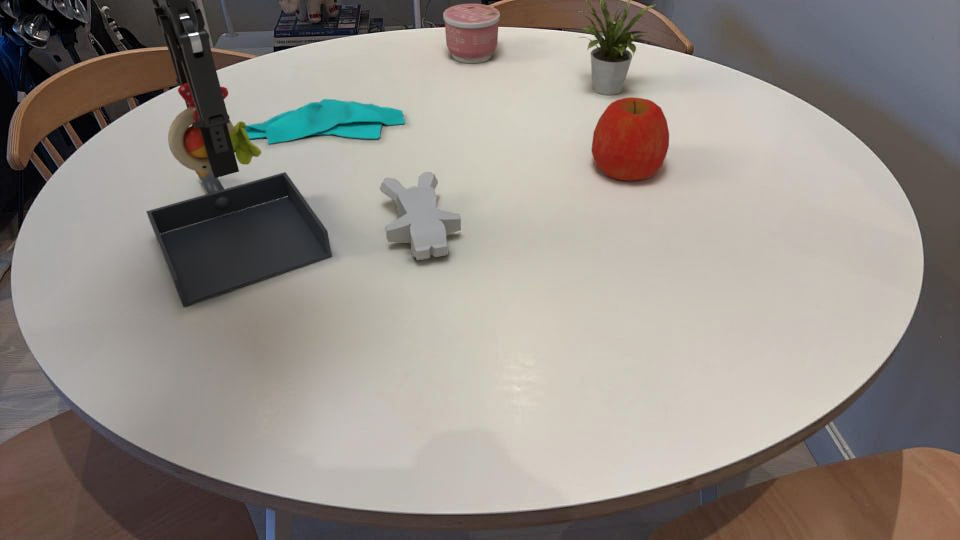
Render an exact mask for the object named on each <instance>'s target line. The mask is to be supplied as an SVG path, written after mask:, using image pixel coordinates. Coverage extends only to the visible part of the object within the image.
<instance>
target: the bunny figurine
mask: <svg viewBox="0 0 960 540" xmlns="http://www.w3.org/2000/svg"><path fill="white" fill-rule="evenodd" d="M438 184H439V181H438V178H437V176H436V174H435V173H434V172H432V171H424V172H422V173H420V175H419V176H418V179H417V185H416V186H411V187H408V188H405V187H404V186H403V184H402V183H401V182H400V180H398V179H396V178H395V177H385V178H383V180H382V182H381V184H380V187H379V191H380V192H381V193H382V194H383V195H385V196H387V197H388V198H390V199H391V200H392V201H394V202H395V203H396V204H395V205H396V210H397V216H398V218H397V219H395V220H393V221H392V222H390V223H388V224H386V225H385V235H386V240H387V242H388V243H396V244H397V243H398V244H399V243H400V244H410V250H411V251H410V252H411V256H412V257H413V258H415V259H416V261H420V260H427V259H430V258H431V256H433V257H434V258H438V257H443V256H448V255H449V253H448V252H449V251H448V249H449V247H448V242H447V236H449V235H452V234H454V233H456V232H457V233H458V232H460V231H461V230H462V217H461V213H458V212H453V211H447V210H444V209H440V208H438V207H437V205H438V204H437V194H436V193H437V192H436V189H437V186H438Z"/></svg>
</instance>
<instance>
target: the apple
mask: <svg viewBox="0 0 960 540" xmlns="http://www.w3.org/2000/svg"><path fill="white" fill-rule="evenodd" d="M669 146H670V131H669V126H668V121H667V118H666V116H665V114H664V111H663V109H662V107H660V106H659V105H658V104H657V103H655V102H654V101H653V100H651V99H647V98H641V97H631V96H630V97H623V98H619V99H616V100H614V101H612V102H611V103H610V104H609V105H608V106H607V107H606V108H605V110H604V111H603V113H602V114H601V115H600V117H599V118H598V120H597V123H596V126H595V128H594V130H593V135H592V143H591V154H592V158H593V161H594V163H595V164H596V166H597V168H598V169H599V170H600V171H601V172H603V173H604V174H605V175H606V176H607V177H609V178H612V179H615V180H618V181H627V182H628V181H629V182H634V181H641V180H646V179H648V178H651V177H653V176H654V175H655V174H656V173H658V171H659V170H660V168H661V167H662V166H663V164H664V162H665V159H666V158H667V153H668V151H669Z"/></svg>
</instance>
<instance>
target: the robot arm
mask: <svg viewBox="0 0 960 540" xmlns="http://www.w3.org/2000/svg"><path fill="white" fill-rule="evenodd" d="M151 3H152V5H154V7H152V10H153V15H154V17H155V20H156V22H157V24H158V26H159V27H160V30H161V34H162V38H163V40H164V42H165V45H166V47H167V51H168V54H169V58H170V61H171V64H172V68H173V72H174V75H175V82H176V84H177V85H178V86H179V87H180V86H182V85H183V84H185V83H188V85H189V88H190V91H191V94H192V97H193V101H194V104H195V107H196V110H197V113H198V116H199V121H196V122H193V124H192V125H194V127H195V129H197V128H200V131H201V134H202V138H203V141H204V145H205V148H206V152H207V155H208V159H209V162H210V166H211V169H212V172H213V176H214V177H215V178H218V179H219V178H221V177H225V176H228V175H232V174H235V173H240V169H239V165H238V160H237V157H236V153H234V149H233V146H232V142H231V138H230V134H229V130H228V126H227V123H230V121H231V118H230V115H229V114H228V111H227V106H226V102H225V99H224V98H223V95H222V91H221V87H222V86H221V83H220V80H219V76H218V72H217V69H216V63H215V61H214V57H213V53H212V48H211V43H210V34H209V32H208V31H207V29H205V26H206V23H205V19H204V16H203V12H202V10H201V9H200V8H197V6H196V3H195V1H194V0H151ZM184 103H185V106H186V109H187V108H189V104H188V103H186V101H185V100H184ZM192 125H191V126H192Z"/></svg>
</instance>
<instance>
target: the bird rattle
mask: <svg viewBox="0 0 960 540" xmlns="http://www.w3.org/2000/svg"><path fill="white" fill-rule="evenodd" d="M220 87H221V91H222V95H223V98H224V100H225V99H226V98H227V97H228V95H229V90H228V88H227V87H225V86H220ZM177 92H178V94H179V95H180V97H181V98H182V99H183V101H184V102H185V101H186V103H188V104H189V108H187V107H186V109H184V110H182V111H181V112H180V113H178V114H177V115H176V116H175V118H174V119H173V121H172V122H171V123H170V126H169V128H168V129H169V130H168V133H167V141H168V148H169V150H170V152H171V154H172V156H173V157H174V158H175V160H177V161H178V162H179V164H181V165H182V166H183V167H185V168H188V170H191V171H194V172H195V173H196V175H197V176H198V177H199V176H200V177H202V178H203V177H205V176H206V175H207V174H208V173H209V172H210V171H211V170H212V169H211V166H210V162H209V159H208V155H207V152H206V148H205V145H204V141H203V138H202V134H201V131H200V128H197V129H195V127H194V125H192V124H193V122H196V121H199V116H198V113H197V110H196V107H195V104H194V101H193V97H192V94H191V91H190V88H189V85H188V83H185V84H183V85H182V86H179V87H178V88H177ZM186 103H185V104H186ZM246 125H247V124H246V122H244V121H238V122H237V123H236V124H235V125H234V124H233V123H232V121H231V120H230V123H227V126H228V130H229V134H230V138H231V142H232V146H233V149H234V153H235V157H236V160H237V162H238V163H240V164H241V165H250V164H251V161H252V159H253V158H254V157H255V158H258V157H259V156H260V155H261V154H262V150H261V149H260V148H259V146H257V145H255V144H254V143H253V142H251V140H250V139H249V137H248V135H247V133H246V131H245V130H244V129H245V127H246Z"/></svg>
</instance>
